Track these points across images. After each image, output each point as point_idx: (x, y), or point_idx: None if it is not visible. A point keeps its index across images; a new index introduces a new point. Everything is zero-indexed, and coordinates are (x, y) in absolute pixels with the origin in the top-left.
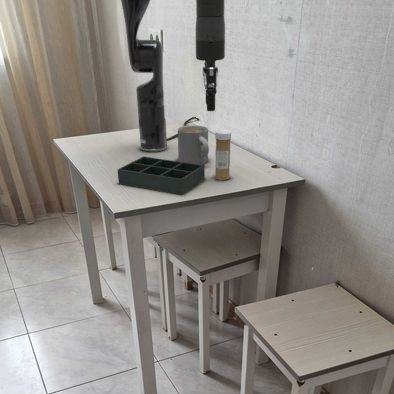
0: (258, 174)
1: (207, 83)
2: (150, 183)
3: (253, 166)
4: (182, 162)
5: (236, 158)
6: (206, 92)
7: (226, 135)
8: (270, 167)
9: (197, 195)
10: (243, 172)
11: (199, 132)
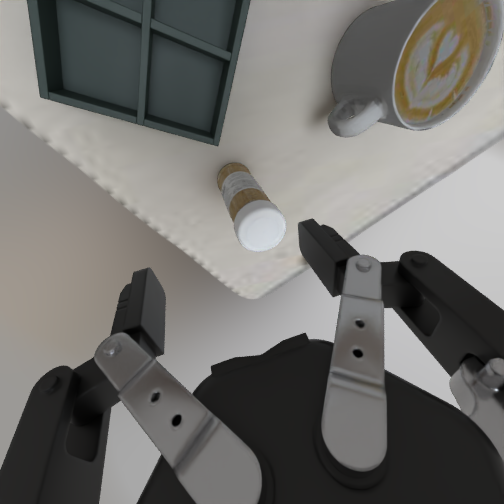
0: None
1: (5, 468)
2: None
3: None
4: (233, 57)
5: (368, 182)
6: (48, 377)
7: (240, 242)
8: None
9: (83, 143)
10: None
11: (392, 105)
